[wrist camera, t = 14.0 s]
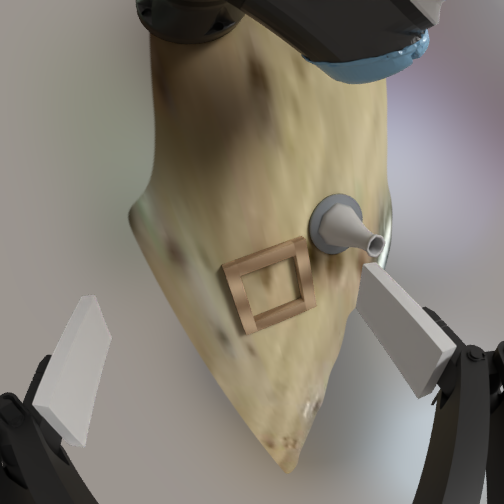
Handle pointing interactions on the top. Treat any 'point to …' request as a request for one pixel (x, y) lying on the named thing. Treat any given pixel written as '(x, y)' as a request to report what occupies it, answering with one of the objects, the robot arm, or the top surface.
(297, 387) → the top surface
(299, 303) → the holder
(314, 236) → the coaster
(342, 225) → the flask
